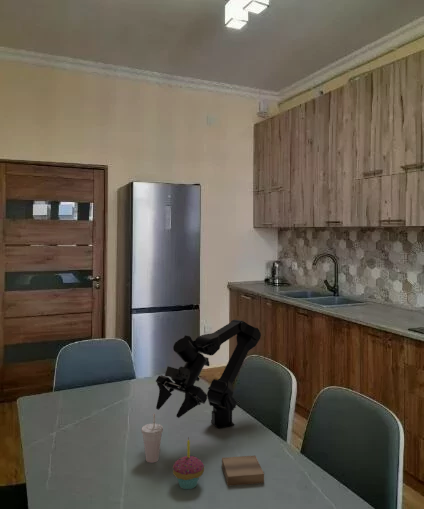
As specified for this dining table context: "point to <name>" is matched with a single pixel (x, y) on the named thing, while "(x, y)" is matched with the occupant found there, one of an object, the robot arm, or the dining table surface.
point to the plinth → (242, 470)
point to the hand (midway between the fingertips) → (167, 413)
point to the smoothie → (152, 440)
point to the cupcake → (188, 469)
